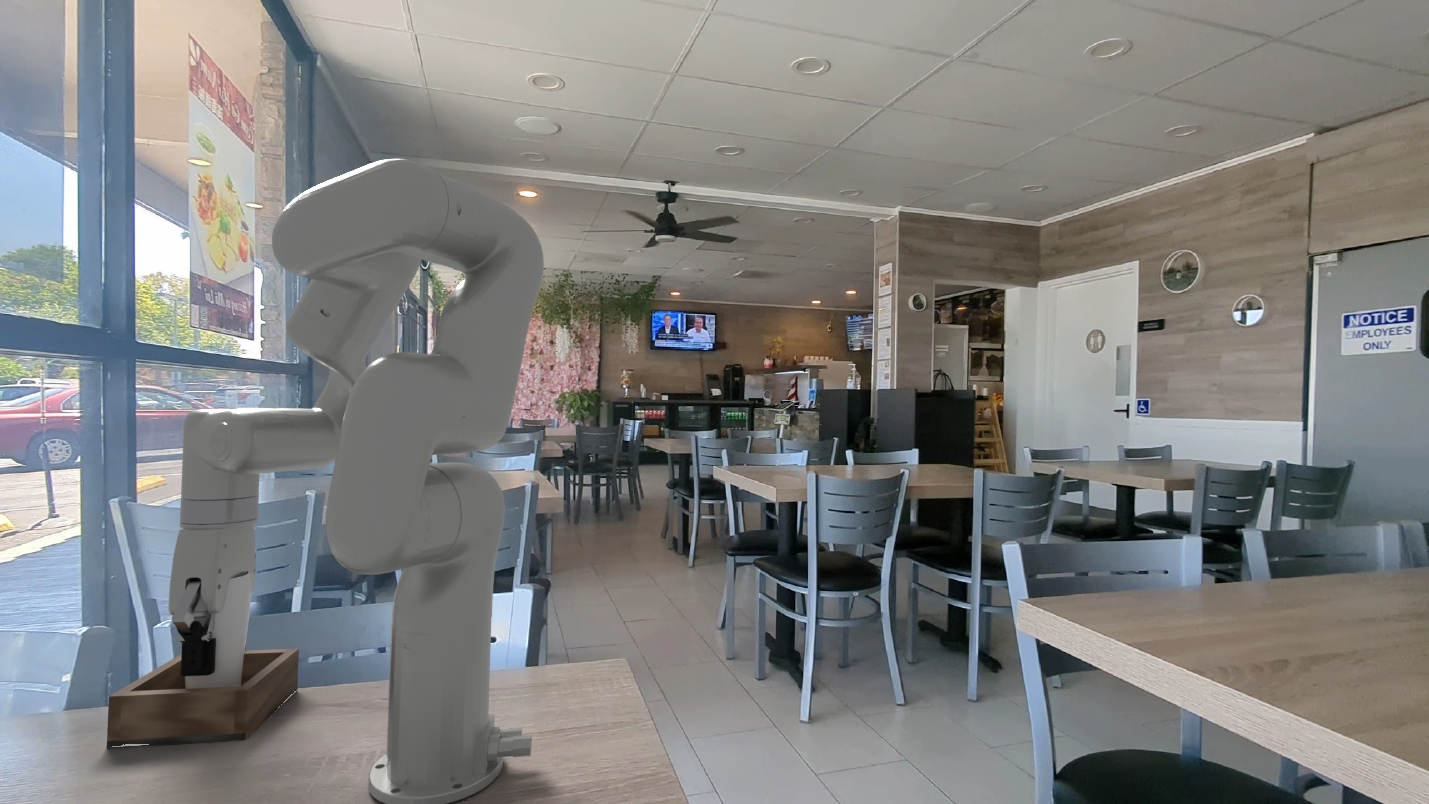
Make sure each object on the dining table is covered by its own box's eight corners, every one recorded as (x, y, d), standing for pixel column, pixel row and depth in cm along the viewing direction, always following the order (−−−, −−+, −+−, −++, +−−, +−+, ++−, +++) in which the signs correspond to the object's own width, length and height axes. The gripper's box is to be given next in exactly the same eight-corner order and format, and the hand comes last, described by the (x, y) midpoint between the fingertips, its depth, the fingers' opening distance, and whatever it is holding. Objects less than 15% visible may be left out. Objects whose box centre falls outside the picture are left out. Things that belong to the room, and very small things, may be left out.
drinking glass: (261, 691, 83) (265, 569, 83) (215, 716, 76) (219, 583, 76) (211, 688, 83) (214, 567, 83) (161, 712, 76) (165, 581, 77)
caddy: (297, 691, 87) (298, 648, 87) (245, 740, 74) (247, 690, 74) (181, 696, 85) (183, 652, 85) (106, 748, 72) (108, 696, 72)
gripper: (224, 503, 88) (218, 641, 87) (136, 523, 71) (129, 695, 70) (286, 502, 89) (282, 638, 89) (215, 523, 72) (209, 691, 72)
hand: (214, 662), depth 80 cm, fingers closed on drinking glass, 6 cm apart
